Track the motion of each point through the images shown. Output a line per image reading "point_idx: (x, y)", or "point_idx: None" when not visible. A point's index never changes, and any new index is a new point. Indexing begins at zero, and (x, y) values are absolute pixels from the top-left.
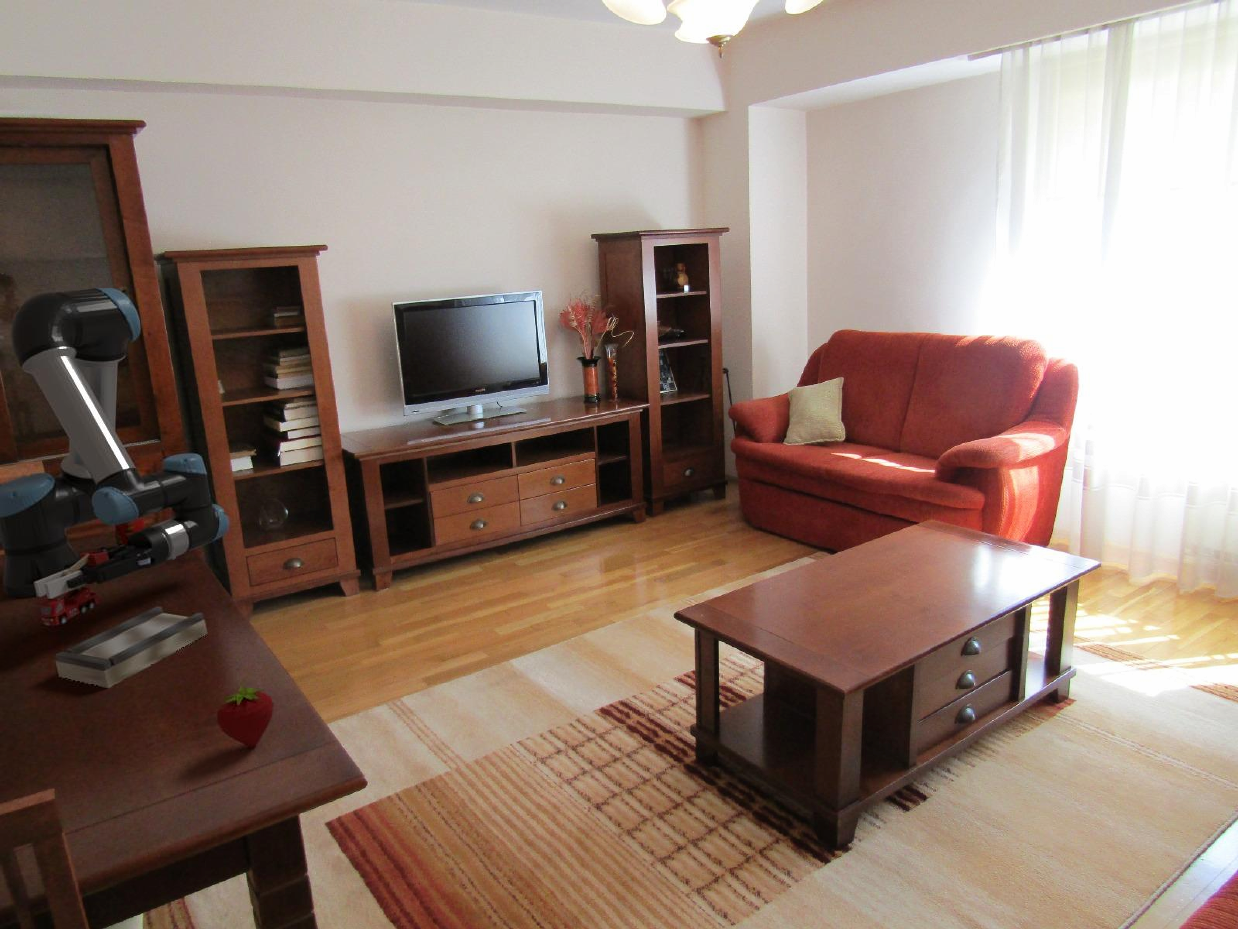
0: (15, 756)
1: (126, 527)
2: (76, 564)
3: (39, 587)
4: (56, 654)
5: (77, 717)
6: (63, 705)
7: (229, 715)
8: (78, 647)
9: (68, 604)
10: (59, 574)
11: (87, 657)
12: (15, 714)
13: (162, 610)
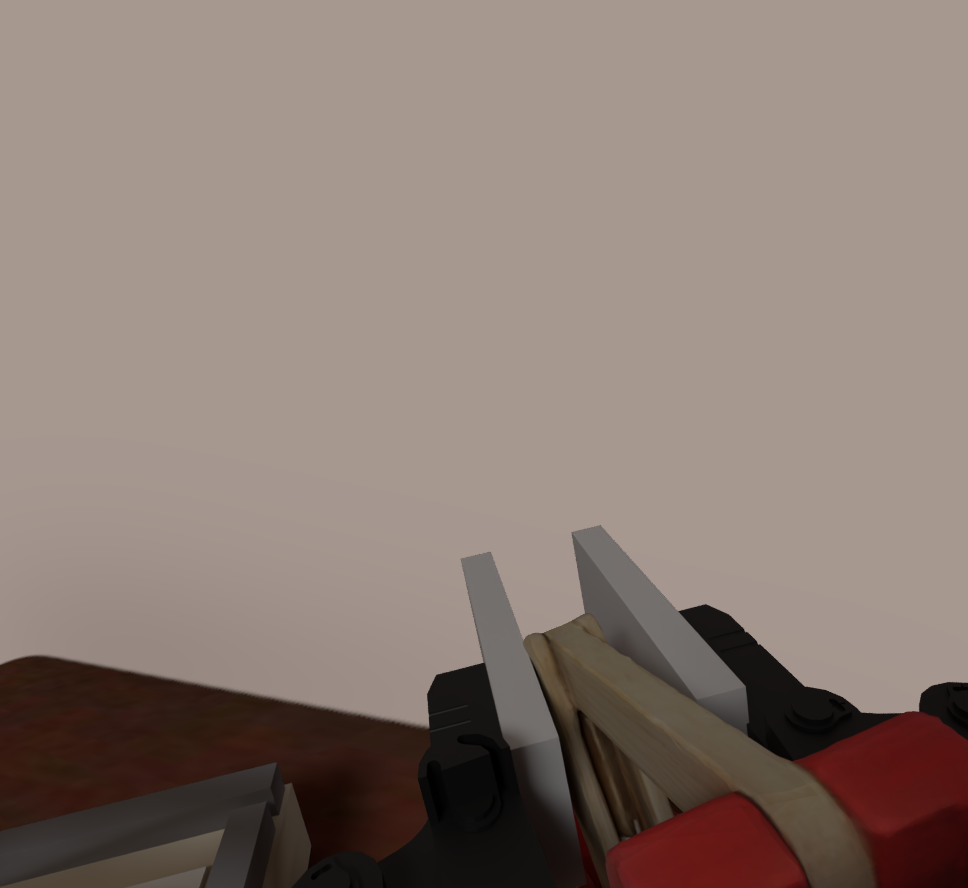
0: (95, 671)
1: None
2: (611, 677)
3: (581, 574)
4: (275, 764)
5: (20, 789)
6: (125, 787)
7: None
8: (220, 848)
9: (584, 847)
10: (637, 624)
11: (78, 828)
12: (253, 703)
13: None
